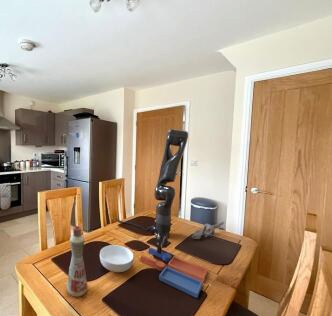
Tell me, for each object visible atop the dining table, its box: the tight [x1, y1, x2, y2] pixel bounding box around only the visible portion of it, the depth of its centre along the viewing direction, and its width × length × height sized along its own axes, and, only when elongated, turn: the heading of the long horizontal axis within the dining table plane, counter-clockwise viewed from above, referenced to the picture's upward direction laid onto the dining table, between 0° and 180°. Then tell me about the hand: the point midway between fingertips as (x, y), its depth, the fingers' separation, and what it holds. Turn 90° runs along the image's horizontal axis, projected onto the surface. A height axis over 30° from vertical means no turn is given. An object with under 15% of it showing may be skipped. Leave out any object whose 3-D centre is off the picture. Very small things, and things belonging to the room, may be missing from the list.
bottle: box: [66, 225, 88, 298], centre depth 82 cm, size 9×9×28 cm
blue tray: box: [158, 266, 203, 299], centre depth 89 cm, size 16×9×2 cm, turn 50°
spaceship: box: [191, 221, 225, 240], centre depth 136 cm, size 8×35×8 cm
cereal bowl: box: [99, 244, 135, 273], centre depth 99 cm, size 17×17×7 cm
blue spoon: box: [148, 246, 173, 263], centre depth 109 cm, size 12×5×3 cm, turn 50°
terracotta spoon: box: [140, 254, 166, 272], centre depth 101 cm, size 12×5×3 cm, turn 50°
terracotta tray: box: [167, 255, 209, 283], centre depth 98 cm, size 16×9×2 cm, turn 50°
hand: (162, 250), depth 108 cm, fingers open, 8 cm apart
